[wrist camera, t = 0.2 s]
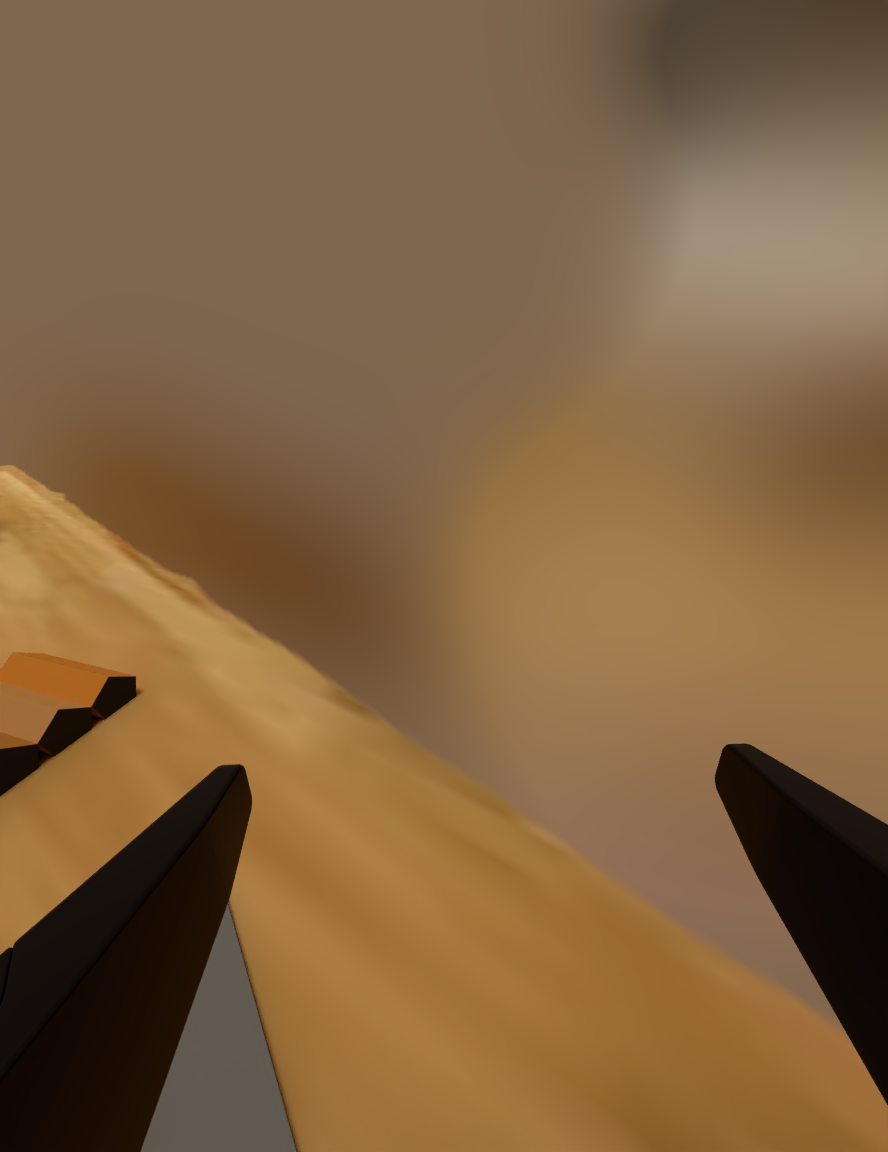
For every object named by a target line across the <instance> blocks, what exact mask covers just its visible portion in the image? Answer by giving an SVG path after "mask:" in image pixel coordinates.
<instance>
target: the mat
mask: <svg viewBox="0 0 888 1152" xmlns="http://www.w3.org/2000/svg"><path fill="white" fill-rule="evenodd" d="M141 1152H297V1149H296V1146H295V1142H294V1138H293V1135H292V1131H291V1128H290V1124H289V1120H288V1117H287V1113H286V1110H285V1106H284V1102H283V1099H282V1095H281V1092H280V1088H279V1084H278V1081H277V1077H276V1074H275V1070H274V1066H273V1063H272V1059H271V1056H270V1052H269V1049H268V1045H267V1041H266V1038H265V1034H264V1031H263V1027H262V1023H261V1020H260V1016H259V1013H258V1009H257V1005H256V1002H255V998H254V995H253V991H252V987H251V984H250V980H249V977H248V973H247V969H246V966H245V962H244V959H243V955H242V951H241V948H240V944H239V941H238V937H237V933H236V930H235V926H234V923H233V919H232V915H231V912H230V908H229V905H228V904H227V907H226V910H225V913H224V916H223V919H222V922H221V925H220V928H219V930H218V933H217V936H216V939H215V942H214V945H213V948H212V950H211V953H210V956H209V959H208V962H207V965H206V967H205V970H204V973H203V976H202V979H201V982H200V984H199V987H198V990H197V993H196V996H195V999H194V1002H193V1004H192V1007H191V1010H190V1013H189V1016H188V1019H187V1021H186V1024H185V1027H184V1030H183V1033H182V1036H181V1039H180V1041H179V1044H178V1047H177V1050H176V1053H175V1056H174V1058H173V1061H172V1064H171V1067H170V1070H169V1073H168V1076H167V1078H166V1081H165V1084H164V1087H163V1090H162V1093H161V1095H160V1098H159V1101H158V1104H157V1107H156V1110H155V1112H154V1115H153V1118H152V1121H151V1124H150V1127H149V1130H148V1132H147V1135H146V1138H145V1141H144V1144H143V1147H142V1149H141Z"/></svg>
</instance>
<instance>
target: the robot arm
mask: <svg viewBox="0 0 888 1152" xmlns="http://www.w3.org/2000/svg"><path fill="white" fill-rule="evenodd" d="M715 785H716V788H717V791H718V793H719V795H720V798H721V800H722V802H723V804H724V806H725V809H726V811H727V813H728V815H729V817H730V819H731V822H732V824H733V826H734V828H735V830H736V833H737V835H738V837H739V839H740V841H741V843H742V846H743V848H744V850H745V852H746V854H747V857H748V859H749V861H750V863H751V865H752V867H753V869H754V871H755V873H756V875H757V877H758V879H759V880H760V882H761V884H762V886H763V888H764V889H765V891H766V893H767V895H768V896H769V898H770V900H771V902H772V903H773V905H774V907H775V909H776V910H777V912H778V914H779V916H780V917H781V919H782V921H783V923H784V924H785V926H786V928H787V930H788V931H789V933H790V935H791V936H792V938H793V940H794V942H795V944H796V945H797V947H798V949H799V951H800V952H801V954H802V956H803V958H804V959H805V961H806V963H807V965H808V966H809V968H810V970H811V972H812V973H813V975H814V977H815V979H816V980H817V982H818V984H819V986H820V987H821V989H822V991H823V993H824V994H825V996H826V998H827V1000H828V1001H829V1003H830V1005H831V1007H832V1009H833V1010H834V1012H835V1014H836V1016H837V1017H838V1019H839V1021H840V1023H841V1024H842V1026H843V1028H844V1030H845V1031H846V1033H847V1035H848V1037H849V1038H850V1040H851V1042H852V1044H853V1045H854V1047H855V1049H856V1051H857V1052H858V1054H859V1056H860V1058H861V1059H862V1061H863V1063H864V1065H865V1066H866V1068H867V1070H868V1072H869V1073H870V1075H871V1077H872V1079H873V1080H874V1082H875V1084H876V1086H877V1087H878V1089H879V1091H880V1093H881V1094H882V1096H883V1098H884V1100H885V1101H886V1103H887V1105H888V825H887V824H886V823H884V822H882V821H880V820H879V819H877V818H875V817H874V816H872V815H870V814H868V813H867V812H865V811H863V810H862V809H860V808H858V807H856V806H855V805H853V804H851V803H850V802H848V801H846V800H844V799H843V798H841V797H839V796H838V795H836V794H834V793H832V792H831V791H829V790H827V789H826V788H824V787H822V786H820V785H819V784H817V783H815V782H813V781H812V780H810V779H808V778H807V777H805V776H803V775H801V774H800V773H798V772H796V771H795V770H793V769H791V768H789V767H788V766H786V765H784V764H783V763H781V762H779V761H777V760H776V759H774V758H772V757H771V756H769V755H767V754H765V753H763V752H762V751H760V750H758V749H757V748H755V747H754V746H752V745H749V744H728V745H726V746H725V747H724V748H723V750H722V753H721V756H720V760H719V764H718V767H717V771H716V774H715ZM251 808H252V795H251V791H250V787H249V783H248V779H247V774H246V771H245V768H244V767H243V766H242V765H240V764H236V765H221V766H219V767H217V768H216V769H215V770H213V771H212V772H211V773H210V774H209V775H208V776H206V777H205V778H204V779H203V780H202V781H201V782H200V783H198V784H197V785H196V786H195V787H194V788H193V789H191V790H190V791H189V792H188V793H187V794H186V795H185V796H183V797H182V798H181V799H180V800H179V801H178V802H176V803H175V804H174V805H173V806H172V807H171V808H169V809H168V810H167V811H166V812H165V813H164V814H163V815H161V816H160V817H159V818H158V819H157V820H156V821H154V822H153V823H152V824H151V825H150V826H149V827H148V828H146V829H145V830H144V831H143V832H142V833H141V834H139V835H138V836H137V837H136V838H135V839H134V840H133V841H131V842H130V843H129V844H128V845H127V846H126V847H124V848H123V849H122V850H121V851H120V852H119V853H118V854H116V855H115V856H114V857H113V858H112V859H111V860H109V861H108V862H107V863H106V864H105V865H104V866H102V867H101V868H100V869H99V870H98V871H97V872H96V873H94V874H93V875H92V876H91V877H90V878H89V879H87V880H86V881H85V882H84V883H83V884H82V885H81V886H79V887H78V888H77V889H76V890H75V891H74V892H72V893H71V894H70V895H69V896H68V897H67V898H66V899H64V900H63V901H62V902H61V903H60V904H59V905H57V906H56V907H55V908H54V909H53V910H52V911H51V912H49V913H48V914H47V915H46V916H45V917H44V918H42V919H41V920H40V921H39V922H38V923H37V924H35V925H34V926H33V927H32V928H31V929H30V930H29V931H27V932H26V933H25V934H24V935H23V936H22V937H20V938H19V939H18V940H17V941H16V942H15V943H14V946H13V948H8V949H6V950H5V951H4V952H3V953H2V954H1V955H0V1152H141V1149H142V1147H143V1144H144V1141H145V1138H146V1135H147V1132H148V1130H149V1127H150V1124H151V1121H152V1118H153V1115H154V1112H155V1110H156V1107H157V1104H158V1101H159V1098H160V1095H161V1093H162V1090H163V1087H164V1084H165V1081H166V1078H167V1076H168V1073H169V1070H170V1067H171V1064H172V1061H173V1058H174V1056H175V1053H176V1050H177V1047H178V1044H179V1041H180V1039H181V1036H182V1033H183V1030H184V1027H185V1024H186V1021H187V1019H188V1016H189V1013H190V1010H191V1007H192V1004H193V1002H194V999H195V996H196V993H197V990H198V987H199V984H200V982H201V979H202V976H203V973H204V970H205V967H206V965H207V962H208V959H209V956H210V953H211V950H212V948H213V945H214V942H215V939H216V936H217V933H218V930H219V928H220V925H221V922H222V919H223V916H224V913H225V910H226V907H227V904H228V901H229V898H230V894H231V890H232V886H233V883H234V879H235V874H236V870H237V866H238V862H239V858H240V854H241V850H242V846H243V842H244V838H245V833H246V829H247V825H248V821H249V817H250V813H251Z"/></svg>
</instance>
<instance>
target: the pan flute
mask: <svg viewBox="0 0 888 1152" xmlns="http://www.w3.org/2000/svg"><path fill="white" fill-rule="evenodd" d="M135 697H136V676H132V675H128V674H124V673H120V672H116V671H112V670H108V669H104V668H100V667H96V666H92V665H87V664H83V663H79V662H75V661H71V660H67V659H63V658H59V657H55V656H51V655H47V654H40V653H12V654H11V656H10V657H9V658H8V660H7V661H6V663H5V664H4V666H3V667H2V669H1V670H0V796H1V795H2V794H4V793H5V792H6V791H8V790H9V789H11V788H12V787H13V786H15V785H16V784H17V783H19V782H20V781H21V780H23V779H24V778H26V777H27V776H28V775H30V774H31V773H32V772H34V771H35V770H36V769H38V768H39V766H38V751H41V752H44V753H47V754H50V755H53V756H56V755H57V754H58V753H60V752H61V751H62V750H64V749H65V748H66V747H68V746H69V745H71V744H72V743H73V742H75V741H76V740H77V739H79V738H80V737H81V736H83V735H84V734H86V733H87V732H88V731H90V730H91V729H92V719H91V715H92V716H96V717H99V718H103V719H106V718H107V717H109V716H110V715H112V714H113V713H114V712H116V711H117V710H118V709H120V708H121V707H122V706H124V705H125V704H127V703H128V702H129V701H131V700H132V699H133V698H135Z"/></svg>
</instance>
